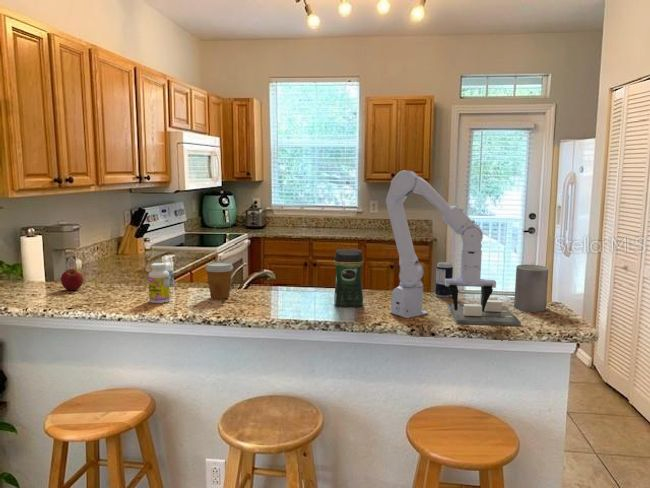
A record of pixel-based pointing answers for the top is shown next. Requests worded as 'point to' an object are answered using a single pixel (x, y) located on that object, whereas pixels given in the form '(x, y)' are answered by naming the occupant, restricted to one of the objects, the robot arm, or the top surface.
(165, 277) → the supplement bottle
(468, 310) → the handle
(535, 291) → the pillar candle
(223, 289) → the disposable coffee cup
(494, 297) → the handle far
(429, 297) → the top surface
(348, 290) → the coffee jar
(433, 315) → the top surface
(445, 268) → the beverage can
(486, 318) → the breaker panel
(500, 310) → the handle middle
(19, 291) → the top surface
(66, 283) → the apple
